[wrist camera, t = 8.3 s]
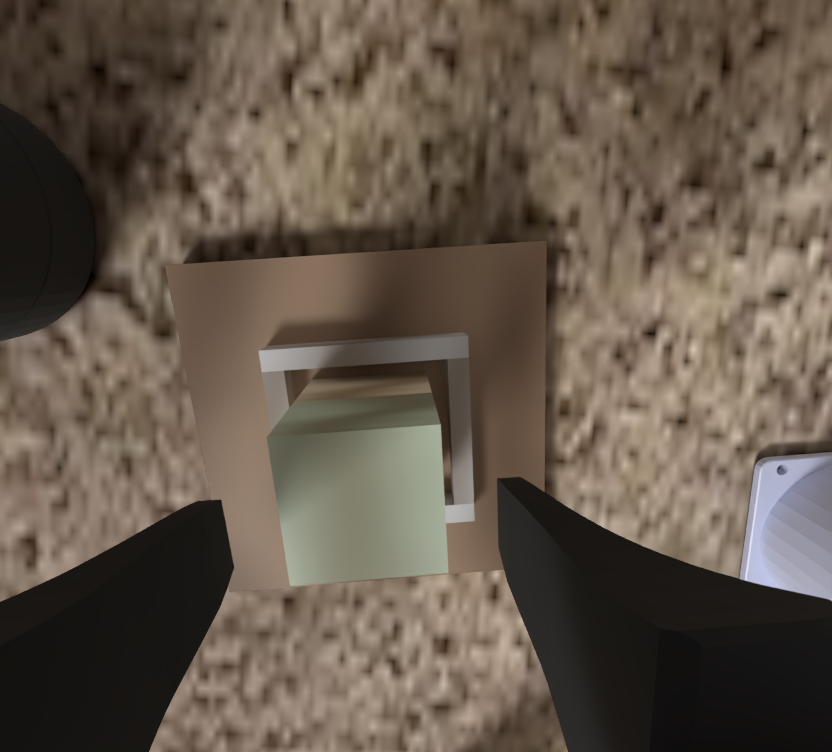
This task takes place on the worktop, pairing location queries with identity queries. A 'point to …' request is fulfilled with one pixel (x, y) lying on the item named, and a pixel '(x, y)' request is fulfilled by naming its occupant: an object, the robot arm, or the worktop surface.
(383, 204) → the worktop surface
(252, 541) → the walnut board
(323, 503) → the block stack
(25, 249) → the pen holder
